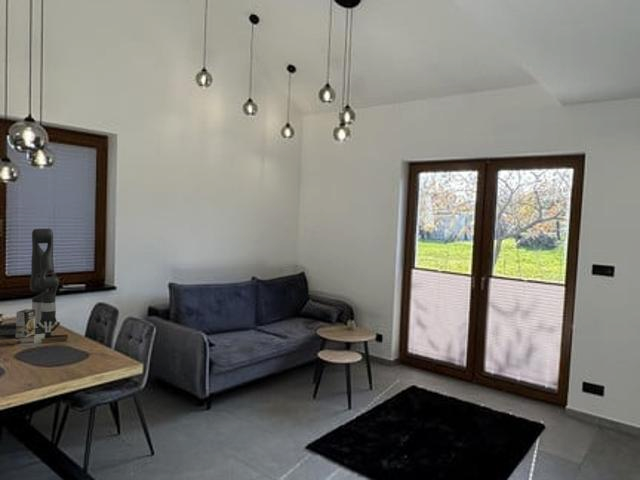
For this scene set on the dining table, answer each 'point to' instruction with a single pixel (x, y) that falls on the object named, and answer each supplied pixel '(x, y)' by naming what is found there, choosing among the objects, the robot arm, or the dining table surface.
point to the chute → (55, 339)
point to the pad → (28, 342)
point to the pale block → (38, 338)
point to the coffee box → (25, 323)
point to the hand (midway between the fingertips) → (48, 338)
